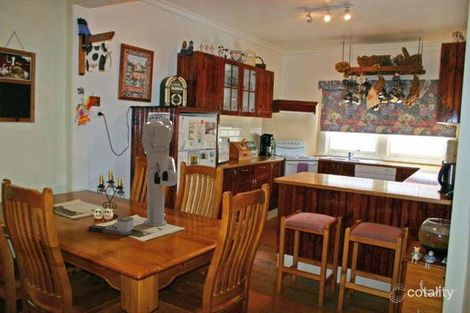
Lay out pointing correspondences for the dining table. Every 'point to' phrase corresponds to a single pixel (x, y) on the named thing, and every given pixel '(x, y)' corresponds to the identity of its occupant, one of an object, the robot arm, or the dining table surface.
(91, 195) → the dining table surface
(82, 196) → the dining table surface
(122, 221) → the socket
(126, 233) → the ratchet
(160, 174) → the robot arm
